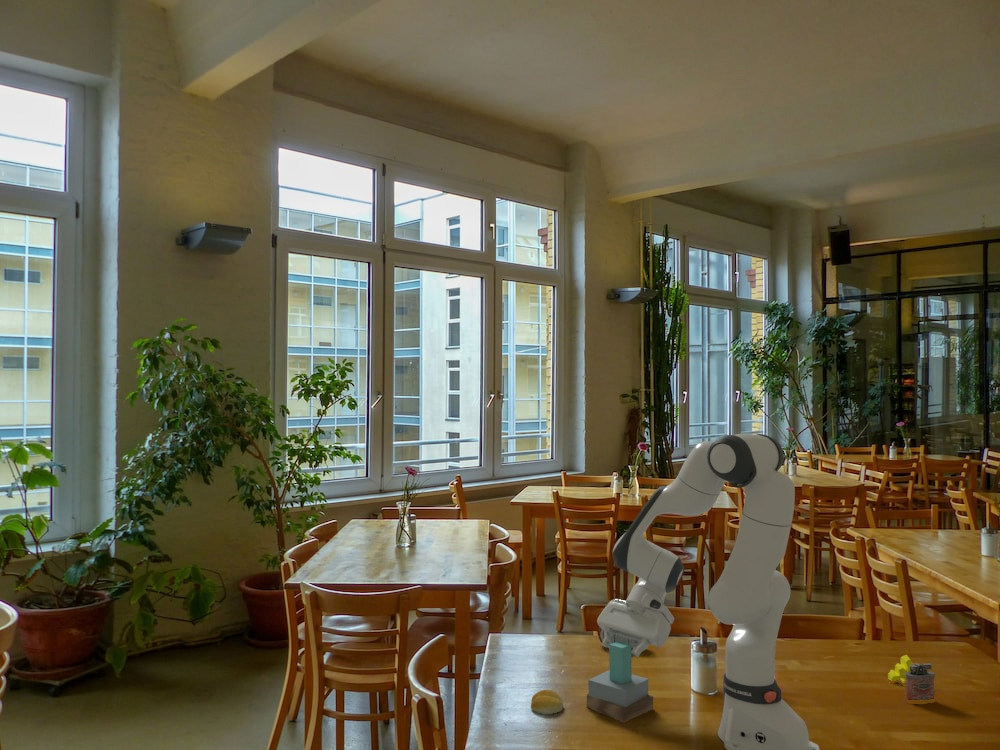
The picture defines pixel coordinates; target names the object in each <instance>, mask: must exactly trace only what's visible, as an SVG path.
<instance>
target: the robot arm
mask: <svg viewBox="0 0 1000 750" xmlns="http://www.w3.org/2000/svg"><path fill="white" fill-rule="evenodd" d="M784 460H785V457H784V450H783V448H782V445H781V444H780V443H779V442H778V440H776V439H774V438H773V437H772V436H769V435H766V434H761V433H756V434H753V433H746V432H743V433H742V432H741V433H737V434H727V435H723V436H721V437H719V438H717V439H716V440H714V441H710V440H704V441H700V442H698V443H697V444H696V445H695V446H694V447H693V448H692V450H691V451H690V453H689V454H688V455H687V457H686V459H685V460H684V462H683V464H682V466H681V468H680V470H679V472H678V475H677V476H676V478H675V479H674V480H673V481H672V482H671V483H669V484H668V485H660V486H659V487H658V488H657V489H656V490H655V491H654V492H653V493H652V495H651V496H650V498H649V499H648V500H647V501H646V503H645V504H644V505H643V507H642V508H641V510H640V511H639V513H638V514H637V516H636V517H635V519H634V520H633V521H632V523H631V524H630V525H629V528H627V530H626V531H625V532H623V535H621V536H620V538H618V540H617V541H616V542H615V544H614V546H613V549H612V554H611V556H612V559H613V562H614V563H615V566H616V568H617V569H620V570H622V571H625V572H628V573H630V574H632V575H634V576H636V577H637V578H638V580H637V582H636V583H635V584H633V587H632V589H631V590H630V593H629V594H628V596H627V597H626V600H622V599H620V598H615V599H611V600H610V601H609V602H608V603H607V605H605V607H604V608H603V610H602V611H601V613H600V614H599V616H598V617H597V619H596V622H597V625H598V628H599V627H600V628H601V629H602V630H604V640H603V642H602V643H601V645H602V646H603V647H605V648H608V649H609V645H610V644H612V642H611V641H610V636H612V635H613V633H614V634H617V635H621V636H624V637H627V638H631V639H634V640H637V641H640V642H641V644H640V645H638V646H637V647H633V649H631V656H633V657H635V658H639V657H640V655H641V654H642V652H644V651H646V650H647V649H648V648H649V646H650V645H651V646H654V647H658V648H661V647H663V646H664V645H665V643H666V642H667V640H668V637H669V635H670V633H671V630H672V626H671V625H672V624H673V623H674V621H675V617H674V616H673V614H672V613H671V611H670V610H669V608H668V607H667V606H666V604H664V602H665V598H666V595H668V593H669V594H670V593H671V592H673V591H676V589H677V586H678V583H679V581H680V580H681V578H682V577H683V575H684V572H685V566H684V564H683V561H682V560H681V557H679V556H678V555H676V554H675V553H673V552H672V551H670V550H667V549H665V548H664V547H661V546H659V545H657V544H655V543H653V542H652V541H649V540H647V539H646V538H645V537H644V534H645V532H646V531H647V530H648V529H649V526H650V525H651V524H652V523H653V521H654V520H655V518H656V517H657V516H659V515H678V516H684V517H693V516H694V517H695V516H699V515H704V514H706V513H707V512H709V511H711V509H712V508H713V506H714V505H715V503H716V501H717V500H718V498H719V496H720V494H721V491H722V489H723V487H724V485H725V483H726V482H727V483H729V484H730V485H731V486H732V487H734V488H736V489H741V488H743V489H744V492H745V493H744V494H745V498H744V499H745V500H744V505H743V508H742V512H741V518H740V523H739V527H738V530H737V531H738V532H737V537H736V539H735V543H734V546H733V549H732V551H731V553H730V555H729V558H728V560H727V562H726V564H725V566H724V569H723V570H722V573H721V575H720V576H719V578H718V580H717V581H716V582H715V584H714V585H713V586H712V587H711V588H710V590H709V592H708V596H707V603H708V604H707V605H708V608H709V610H710V612H711V613H712V615H713V616H714V618H715V619H716V620H717V621H718V622H720V623H722V624H725V625H730V626H731V625H733V626H732V629H731V631H730V633H729V635H728V637H727V638H726V641H725V672H724V674H723V681H722V682H723V683H722V684H723V688H722V690H723V696H724V699H723V700H724V701H723V709H722V714H721V715H722V716H721V720H720V725H719V728H718V731H717V736H718V737H719V739H720V740H721V741H722V742H723V746H724V749H726V750H820V747H819V745H818V744H817V743H815V742H813V741H811V740H810V737H809V736H810V735H809V730H808V727H807V724H806V722H805V721H804V720H803V718H801V716H800V715H798V713H796V712H795V710H793V708H792V707H791V706H790V705H789V704H788V703H787V702H786V701H785V700H784V699H783V698H782V697H783V696H782V693H783V692H785V691H786V690H785V688H786V686H785V685H783V686H782V687H780V686H779V685H778V683H777V680H776V679H775V665H776V663H775V659H776V647H777V646H776V645H777V639H778V635H779V631H780V626H781V621H782V617H783V615H784V609H785V608H786V606H787V604H788V602H789V601H790V598H791V593H792V592H791V590H792V589H791V585H790V582H789V580H788V579H787V577H786V576H785V575H784V574H783V573H781V572H780V571H779V570H776V569H777V568H778V566H779V564H780V563H781V562H783V561H782V560H783V559H784V558H785V555H786V551H787V546H788V543H789V537H790V534H791V533H790V532H791V528H792V524H793V518H794V512H795V511H794V510H795V498H796V497H795V496H796V493H795V490H796V489H795V487H796V486H795V484H794V481H793V480H792V479H791V478H790V477H789V476H788V475H787V474H785V473H782V472H780V471H779V470H780V469H781V468H782V466H783V463H784Z"/></svg>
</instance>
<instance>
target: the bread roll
mask: <svg viewBox="0 0 1000 750" xmlns="http://www.w3.org/2000/svg"><path fill="white" fill-rule="evenodd" d="M530 702H531V703H530V709H531V710H532V711H533V712H535V711H536V713H537V712H539V713H538V714H540V713H542V714H541V715H547V714H548V715H553V713H554V714H558V713H560V712H562V710H563V709H564V701H563V699H562V697H561V696H560V694H558V693H557V692H556V691H554V690H550V689H542V690H539V691H537V692H536V693H534V694H533V696H532V697H531V700H530ZM557 712H558V713H557Z"/></svg>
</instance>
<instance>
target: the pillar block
mask: <svg viewBox="0 0 1000 750" xmlns="http://www.w3.org/2000/svg"><path fill="white" fill-rule="evenodd" d="M608 649H609V650H608V653H609V655H608V656H609V658H608V659H609V666H608V667H609V670H610V680H611V681H614V682H617V683H621V684H624V683H626V682H628V681H630V680H632V674H633V672H632V654H631V651H632V649H631V644H627V643H624V642H620V641H618V642H615V643H612V644H610V645H609V648H608Z"/></svg>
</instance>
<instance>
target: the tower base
mask: <svg viewBox="0 0 1000 750" xmlns="http://www.w3.org/2000/svg"><path fill="white" fill-rule="evenodd" d="M587 707H588V708H587ZM586 708H587V709H589V708H590V709H589V710H592V711H594V710H595V712H596V713H599V714H601V713H602V714H601V715H605V716H606V717H609V718H611V717H612V719H613V718H614V720H616V721H618V720H619V721H618V722H621V723H623V722H624V723H625V721H626V722H628V721H631V720H633V719H635V718H637V717H640V716H641V714H642V715H644V714H646V713H648V711H649V712H651V711H653V710H654V695H650V694H648V695H646V696H645V697H643V698H641V699H639V700H638V701H636V702H634V703H633V704H631V705H629V706H627V707H623V706H619V705H616V704H613V703H610V702H607V701H604V700H601V699H598V698H595V697H592V696H589V693H587V694H586ZM650 710H651V711H650ZM643 713H644V714H643ZM639 715H640V716H639ZM634 717H635V718H634ZM632 718H633V719H632ZM630 719H631V720H630ZM627 720H628V721H627Z"/></svg>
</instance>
